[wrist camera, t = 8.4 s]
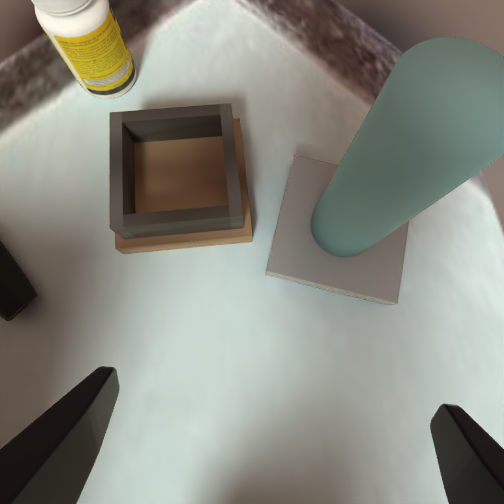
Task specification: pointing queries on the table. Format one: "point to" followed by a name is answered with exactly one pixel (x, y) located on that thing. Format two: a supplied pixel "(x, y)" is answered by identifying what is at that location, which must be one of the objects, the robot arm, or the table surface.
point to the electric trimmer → (13, 287)
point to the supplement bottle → (89, 44)
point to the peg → (415, 143)
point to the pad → (321, 262)
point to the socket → (177, 179)
